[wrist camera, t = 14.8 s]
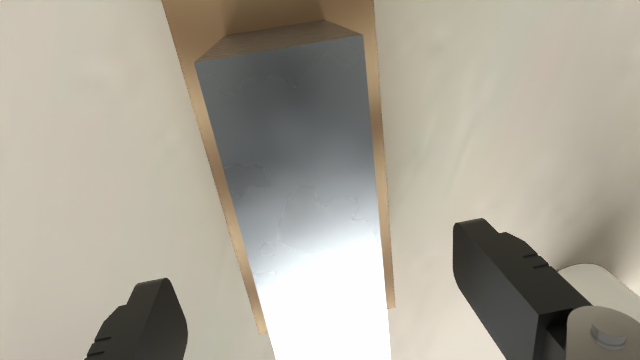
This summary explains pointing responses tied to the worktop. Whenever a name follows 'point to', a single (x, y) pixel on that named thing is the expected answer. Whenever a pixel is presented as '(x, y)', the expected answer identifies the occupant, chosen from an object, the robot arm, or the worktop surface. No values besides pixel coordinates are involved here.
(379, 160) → the oak ledge
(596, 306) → the robot arm
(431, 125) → the worktop surface
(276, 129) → the aluminium block
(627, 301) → the cylindrical container
